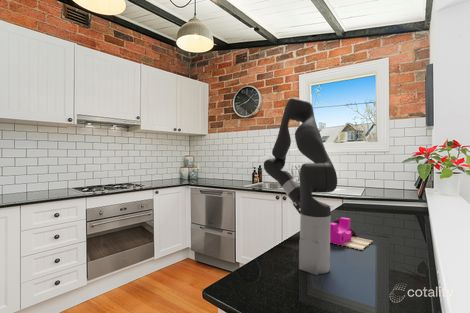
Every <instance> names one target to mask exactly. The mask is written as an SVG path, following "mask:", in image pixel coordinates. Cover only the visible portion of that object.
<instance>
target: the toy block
mask: <svg viewBox="0 0 470 313" xmlns="http://www.w3.org/2000/svg"><path fill="white" fill-rule="evenodd" d="M339 219H340V221H339V225H338V224H337V223H333V222H331V224H330V243H333V244H332V245H334V244H337V245H336V246H339V245H342V244H344V243H346V242H348V241H350V240H351V234H352V231H350V228H351V218H349V217H340V218H339Z"/></svg>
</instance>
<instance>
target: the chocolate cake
mask: <svg viewBox="0 0 470 313" xmlns="http://www.w3.org/2000/svg"><path fill="white" fill-rule="evenodd" d="M339 221H340V218H339V217H337V216H335V218H334V220H333V222H332V223H337V224H338V225H339ZM350 231H352V234H351V236H353V237H358V233H357V232H356V231H355V230H354V229H353V228H351V227H350Z"/></svg>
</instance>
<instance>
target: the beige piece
mask: <svg viewBox="0 0 470 313" xmlns="http://www.w3.org/2000/svg"><path fill="white" fill-rule="evenodd" d="M373 242H374V240H371V239H366V238H361V237H358V236H356V237H353V236H351V240H350V241H348V242H346V243H344V244H342V245H343V246H346V247H345V248H347V247H350V248H349V249H351V248H354V249H353V250H355V249H358V250H357V251H359V250H362V251H363V250H365V249H366V248H367V247H369V246H370V245H371V244H372V243H373ZM369 244H370V245H369ZM343 246H342V247H343ZM365 247H366V248H365ZM364 248H365V249H364Z"/></svg>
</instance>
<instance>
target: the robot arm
mask: <svg viewBox="0 0 470 313" xmlns="http://www.w3.org/2000/svg"><path fill="white" fill-rule="evenodd" d="M315 117H316V116H315V112H314V108H313V104H312V103H311V102H310V101H307V100H304V99H300V98H295V97H291V98H289V100H288V101H287V102H286V104H285V107H284V111H283V114H282V117H281V118H282V119H281V122H280V126H279V130H278V135H277V137H276V140H275V142H274V145H273V148H272V150H271V154H272V156H273V157H272V158H269V159H266V160H264V162H263V169H264V170H265V172H266V173H267V175H268V176H270V177H271V178H272V179H273V180H275V181H277V183H278V184H279V185H280V187H281V188H282V189H283V191H284V192H285V194H286V195H287V196H288V198H289V199H290V200H291V202H292V205H293V207H294V208H295V210H296V211H297V213H298V214H299V216H300V217H299V220H300V221H299V226H300V227H299V240H298V243H299V244H298V251H299V252H298V269H299V270H300V271H304V272H307V273H310V274H312V275H315V276H318V275H320V274H321V275H322V274H327V273H329V272H330V270H331V267H330V266H331V244H330V224H331V220H332V219H331V217H332V216H331V214H332V212H331V211H332V210H331V206H330V204H327V203H325V202H322V201H319V200H317V199H316V198H314V197H313V193H314V194H315V193H318V194H319V193H321V194H322V193H325V194H326V193H332V192H334V191H335V190H336V189H337V186H338V176H337V172H336V169H335V167H334V166H335V165H333V162H332V160H331V158H330V157H329V154H328V153H327V150H326V148H325V144H324V142H323V138H322V136H321V132H320V130H319V128H318V125H317V121H316V118H315ZM290 120H292V121H296V122H300V123H301V124H300V125H299V126H298V127H297V129H296V130H295V132H294V138H295V139H294V140H295V143H296V147H297V149H298V151H299V152H300V153H301V154H302V155H303V156H304V157H306V158H307V159H309V160H310V161H311V163H310V162H309V163H307V162H305V163H303V164H302V165H301V166H300V169H299V182H298V181H297V180H296V179H295V178H294V177H293V176H292V175H291V173H290V172H289V171H287V170H283V169H284V167H285V166H286V159H287V158H286V157H287V153H289V152H288V151H289V149H290V147H291V144H292V140H291V135H290V130H289V123H290ZM312 162H313V163H312Z"/></svg>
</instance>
